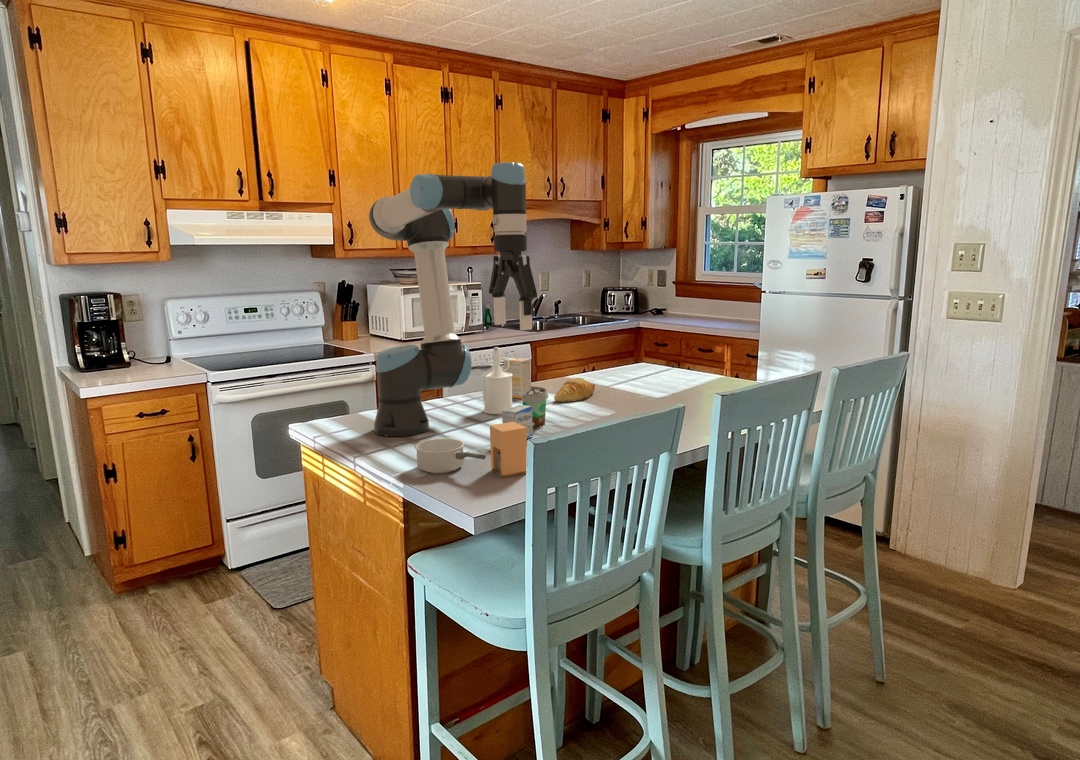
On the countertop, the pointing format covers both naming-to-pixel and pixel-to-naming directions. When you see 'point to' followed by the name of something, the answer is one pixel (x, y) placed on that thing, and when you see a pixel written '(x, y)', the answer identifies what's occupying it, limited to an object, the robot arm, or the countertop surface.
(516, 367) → the supplement box
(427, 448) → the saucepan
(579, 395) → the croissant
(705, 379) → the countertop surface
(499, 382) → the white squeeze bottle
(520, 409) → the medicine box
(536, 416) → the food container
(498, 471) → the sponge on coaster
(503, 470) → the tall orange brick
